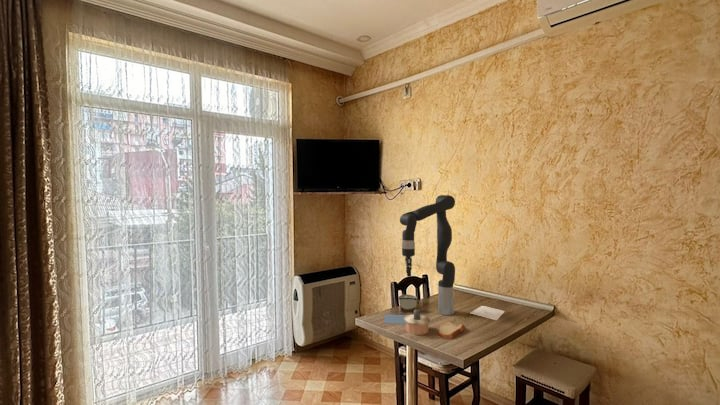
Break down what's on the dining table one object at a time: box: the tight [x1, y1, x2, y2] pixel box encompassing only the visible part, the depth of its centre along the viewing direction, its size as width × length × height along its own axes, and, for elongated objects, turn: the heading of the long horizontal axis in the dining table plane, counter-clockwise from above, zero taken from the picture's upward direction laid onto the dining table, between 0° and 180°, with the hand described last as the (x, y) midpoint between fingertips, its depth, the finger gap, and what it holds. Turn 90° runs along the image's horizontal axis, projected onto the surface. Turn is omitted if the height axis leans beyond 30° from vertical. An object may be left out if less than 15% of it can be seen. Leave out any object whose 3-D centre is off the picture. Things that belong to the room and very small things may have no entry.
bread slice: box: [437, 321, 466, 340], centre depth 179 cm, size 18×18×4 cm
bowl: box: [405, 322, 429, 337], centre depth 179 cm, size 12×12×6 cm
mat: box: [383, 313, 408, 325], centre depth 196 cm, size 15×15×1 cm
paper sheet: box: [469, 305, 506, 321], centre depth 206 cm, size 24×29×1 cm
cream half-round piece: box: [397, 294, 419, 313], centre depth 212 cm, size 12×6×10 cm, turn 84°
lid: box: [404, 309, 431, 325], centre depth 179 cm, size 14×14×5 cm
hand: (408, 274), depth 194 cm, fingers open, 8 cm apart
